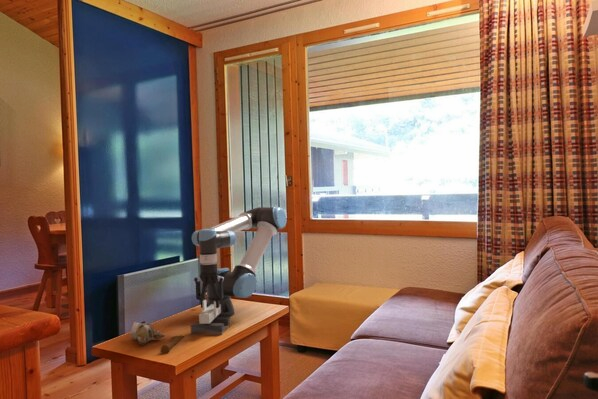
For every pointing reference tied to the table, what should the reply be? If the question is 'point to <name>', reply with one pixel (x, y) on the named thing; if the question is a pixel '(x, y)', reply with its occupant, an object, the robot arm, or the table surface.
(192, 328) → the dark grey rimmed tray
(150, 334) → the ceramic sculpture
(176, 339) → the primitive tool
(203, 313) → the clay strip
